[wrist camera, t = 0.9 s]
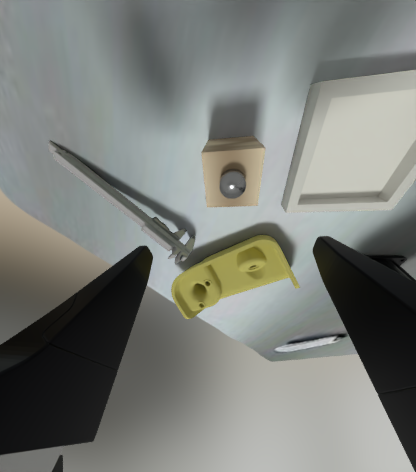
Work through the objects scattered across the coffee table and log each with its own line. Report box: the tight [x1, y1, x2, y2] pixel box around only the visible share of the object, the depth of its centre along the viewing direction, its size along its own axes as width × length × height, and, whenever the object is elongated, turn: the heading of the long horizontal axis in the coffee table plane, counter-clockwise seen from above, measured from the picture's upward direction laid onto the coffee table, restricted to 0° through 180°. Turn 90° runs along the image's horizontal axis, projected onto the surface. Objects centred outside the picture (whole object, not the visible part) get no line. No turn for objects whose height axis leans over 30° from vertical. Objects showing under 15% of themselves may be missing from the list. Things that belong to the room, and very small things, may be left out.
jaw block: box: [202, 136, 265, 207], centre depth 14 cm, size 4×4×7 cm
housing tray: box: [281, 70, 416, 213], centre depth 15 cm, size 11×11×2 cm
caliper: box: [49, 141, 195, 264], centre depth 19 cm, size 20×1×6 cm, turn 52°
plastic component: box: [171, 235, 300, 319], centre depth 27 cm, size 20×7×10 cm
